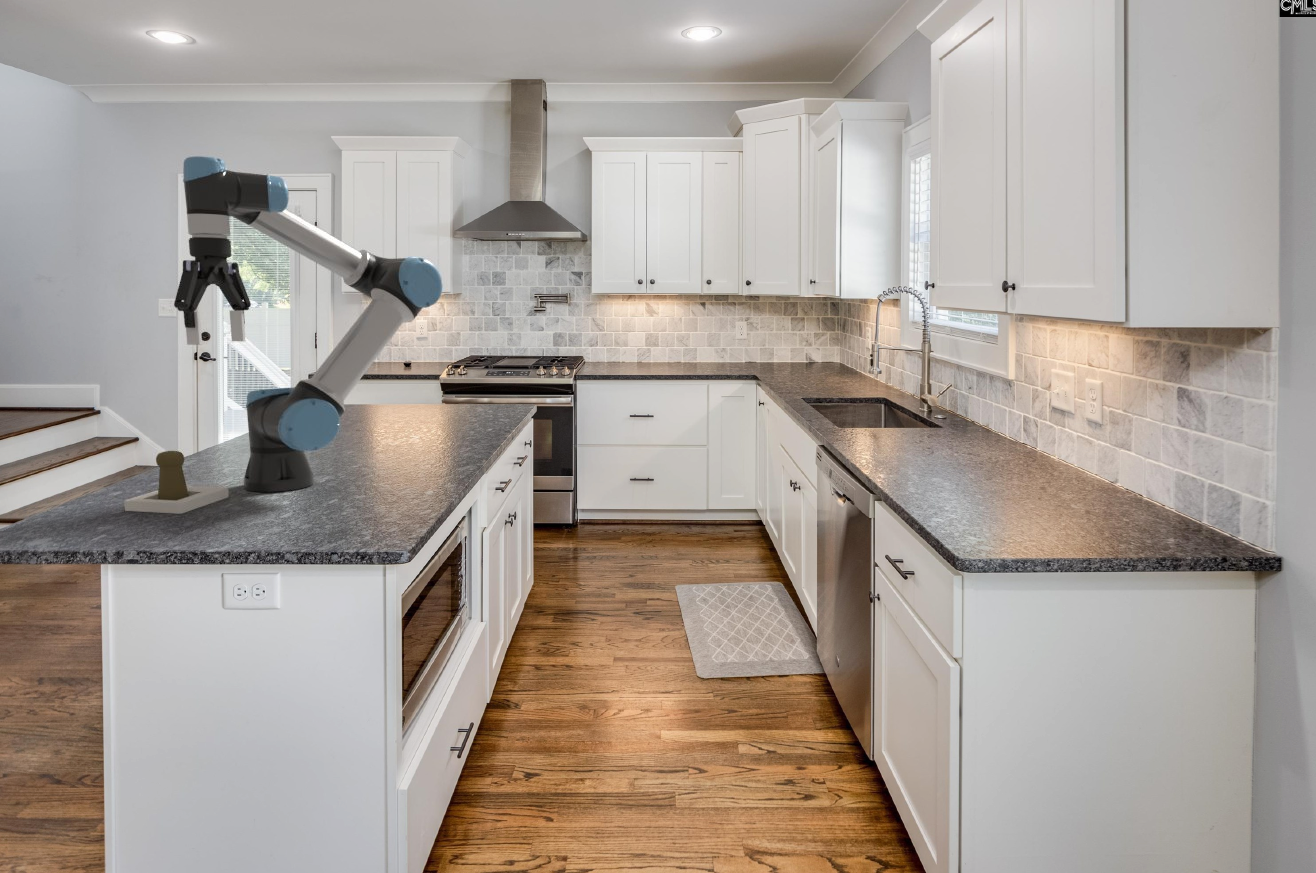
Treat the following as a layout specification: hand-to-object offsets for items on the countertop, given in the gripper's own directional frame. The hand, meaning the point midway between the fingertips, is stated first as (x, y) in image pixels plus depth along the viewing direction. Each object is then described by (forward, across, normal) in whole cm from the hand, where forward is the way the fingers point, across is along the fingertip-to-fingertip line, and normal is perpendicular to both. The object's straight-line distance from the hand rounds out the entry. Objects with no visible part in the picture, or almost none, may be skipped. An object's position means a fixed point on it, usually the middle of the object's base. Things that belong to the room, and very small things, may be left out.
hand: (217, 343), depth 175 cm
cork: (+34, +1, -12) cm, 36 cm away
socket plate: (+35, 0, -12) cm, 37 cm away
